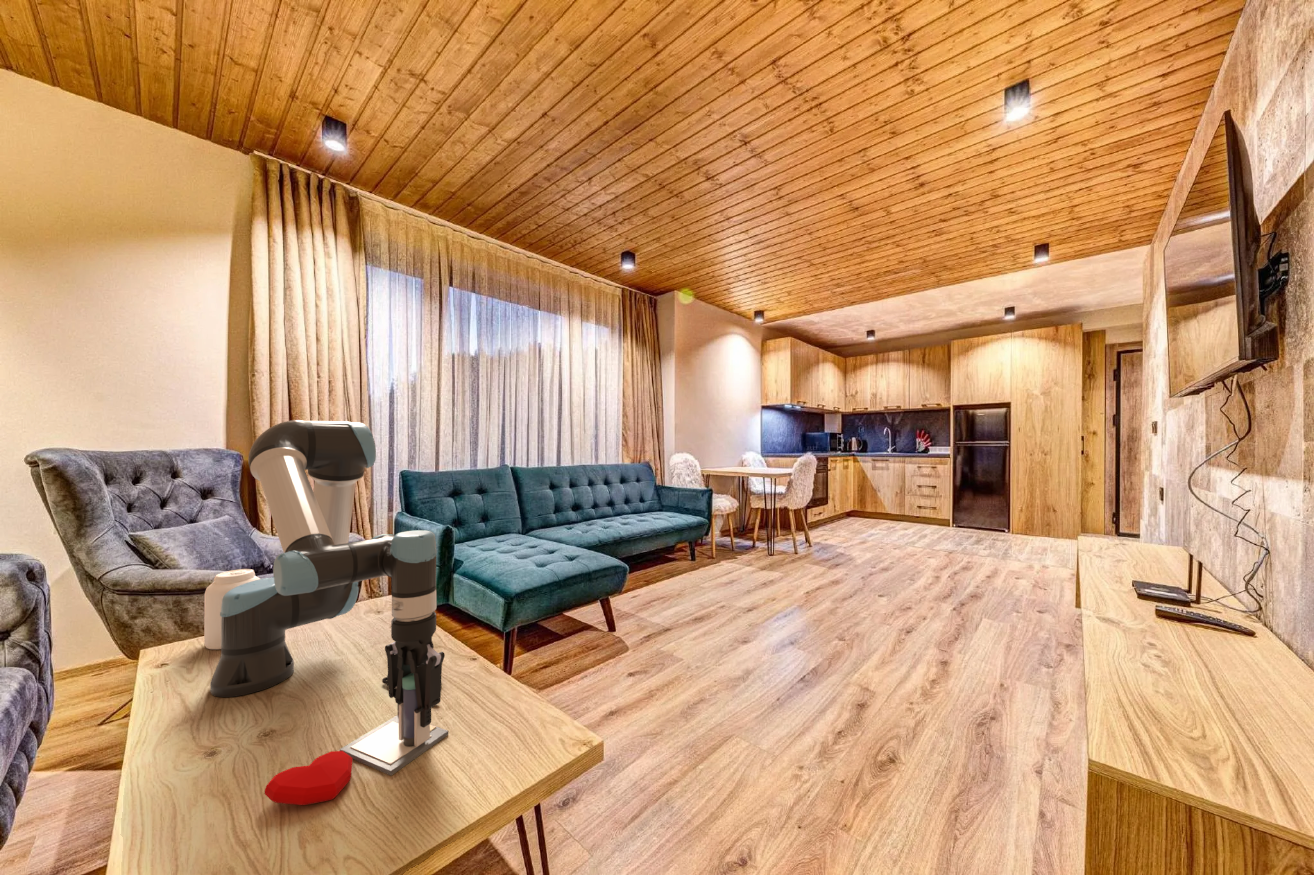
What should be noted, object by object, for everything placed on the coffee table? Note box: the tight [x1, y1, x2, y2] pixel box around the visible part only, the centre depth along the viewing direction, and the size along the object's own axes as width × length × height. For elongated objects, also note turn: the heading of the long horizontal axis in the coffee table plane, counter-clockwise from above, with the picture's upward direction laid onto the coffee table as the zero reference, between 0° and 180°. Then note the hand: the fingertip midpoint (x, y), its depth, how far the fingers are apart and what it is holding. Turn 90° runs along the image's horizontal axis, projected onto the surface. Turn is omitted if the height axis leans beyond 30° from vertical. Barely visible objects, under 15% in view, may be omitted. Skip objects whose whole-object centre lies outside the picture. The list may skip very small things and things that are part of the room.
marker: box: [402, 673, 418, 747], centre depth 86 cm, size 4×4×12 cm
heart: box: [263, 750, 354, 806], centre depth 75 cm, size 12×4×10 cm
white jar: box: [203, 568, 261, 650], centre depth 133 cm, size 12×12×20 cm
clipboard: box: [339, 714, 449, 776], centre depth 87 cm, size 14×12×1 cm
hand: (414, 738), depth 86 cm, fingers closed on marker, 4 cm apart
